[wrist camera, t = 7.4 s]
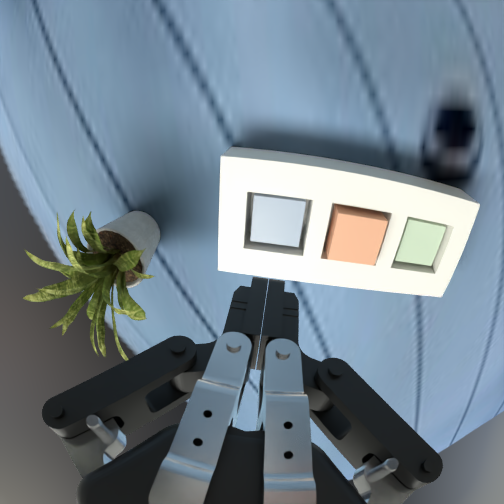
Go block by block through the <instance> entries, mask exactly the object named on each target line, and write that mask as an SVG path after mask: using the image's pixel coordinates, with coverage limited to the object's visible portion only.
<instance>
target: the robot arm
mask: <svg viewBox="0 0 504 504" xmlns="http://www.w3.org/2000/svg"><path fill="white" fill-rule="evenodd" d="M267 284H268V279H266V278H258V277H253V279H252V284H251V287H245V286H240V287H239V288H238V289H237V290H236V291H235V292H234V294H233V298H232V302H231V305H230V309H229V313H228V316H227V320H226V324H225V327H224V331H223V334H222V335H221V336H220V337H219V338H218V339H217V340H215V341H213V342H211V343H206V344H195V343H194V342H193V341H192V340H191V339H190V338H188V337H185V336H173V337H170V338H168V339H166V340H164V341H162V342H161V343H159V344H157V345H155V346H153V347H151V348H149V349H147V350H146V351H144V352H142V353H140V354H138V355H136V356H134V357H132V358H130V359H128V360H126V361H124V362H123V363H121V364H119V365H117V366H115V367H113V368H111V369H109V370H107V371H105V372H103V373H101V374H99V375H97V376H95V377H93V378H91V379H89V380H87V381H85V382H83V383H81V384H79V385H77V386H75V387H73V388H71V389H69V390H67V391H65V392H63V393H60V394H58V395H57V396H54V397H52V398H50V399H49V400H48V401H47V402H46V403H45V404H44V406H43V409H42V417H43V420H44V422H45V423H46V424H47V425H48V426H49V427H50V428H51V429H52V430H53V431H54V432H55V433H56V434H57V435H58V436H59V437H60V438H61V439H62V441H63V443H64V445H65V447H66V449H67V451H68V453H69V455H70V457H71V459H72V460H73V462H74V464H75V465H76V468H77V469H78V471H79V473H80V475H81V476H82V478H83V479H82V480H81V482H80V483H79V485H78V488H77V492H76V502H77V504H402V503H403V502H404V501H405V500H406V498H408V497H409V496H410V495H411V494H412V493H413V491H414V490H416V489H418V488H420V487H423V486H425V485H427V484H429V483H431V482H433V481H434V480H436V479H437V478H438V477H439V476H440V474H441V471H442V468H443V464H442V459H441V457H440V456H439V454H438V453H437V452H436V451H435V450H433V449H432V448H431V447H430V446H429V445H428V444H427V443H426V442H425V441H424V440H423V439H422V438H421V437H420V436H419V435H418V434H417V433H416V432H415V431H414V430H413V429H412V428H411V427H410V426H409V425H408V424H407V423H406V422H405V421H404V420H403V419H402V418H401V417H400V416H399V415H398V414H397V413H396V412H395V411H394V410H393V409H392V408H391V407H390V406H389V405H388V404H387V403H386V402H385V401H384V400H383V399H382V398H381V397H380V396H379V395H378V394H377V393H376V392H375V391H374V390H373V389H372V388H371V387H370V386H369V385H368V384H367V383H366V382H365V381H364V380H363V379H362V378H361V377H360V376H359V375H358V374H357V373H356V372H355V371H354V370H353V369H352V368H351V367H350V366H349V365H348V364H347V363H346V362H345V361H343V360H341V359H338V358H328V359H325V360H323V361H322V362H320V361H318V360H315V359H312V358H310V357H308V356H307V355H305V354H304V353H303V352H302V351H301V349H300V347H299V344H298V323H299V318H298V316H299V311H298V310H299V301H298V299H297V297H296V296H295V294H294V293H289V292H284V285H285V281H281V280H273V279H269V285H268V292H267V298H266V291H267ZM265 298H266V305H265ZM264 306H265V312H264ZM263 313H264V319H263ZM262 320H263V326H262ZM261 327H262V333H261ZM260 334H261V341H260ZM259 341H260V348H259V355H258V362H257V369H256V370H261V374H260V381H259V386H258V408H257V424H256V431H243V430H240V429H237V428H235V426H236V421H237V417H238V413H239V410H240V406H241V402H242V399H243V395H244V391H245V388H246V383H247V381H248V379H249V374H250V369H255V365H256V359H257V353H258V347H259ZM189 398H190V400H189V402H188V405H187V407H186V410H185V412H184V415H183V417H182V420H181V422H180V423H177V424H174V425H171V426H168V427H166V428H164V429H163V430H161V431H159V432H158V433H156V434H155V435H153V436H152V437H150V438H148V439H147V440H145V441H144V442H142V443H141V444H139V445H137V446H136V447H134V448H133V449H131V450H129V451H127V452H126V453H124V454H122V455H121V456H119V457H117V458H115V457H116V456H117V455H118V454H119V453H120V452H122V451H123V449H124V448H125V446H126V436H127V435H128V434H130V433H132V432H134V431H136V430H137V429H139V428H141V427H143V426H145V425H146V424H148V423H150V422H151V421H153V420H155V419H156V418H158V417H160V416H161V415H163V414H165V413H167V412H168V411H170V410H171V409H173V408H175V407H176V406H178V405H180V404H181V403H183V402H184V401H186V400H187V399H189ZM310 418H311V419H312V420H313V421H314V423H315V424H316V425H317V426H318V427H319V428H320V430H321V431H322V432H323V433H324V434H325V435H326V437H327V438H328V439H329V440H330V441H331V442H332V443H333V445H334V446H335V447H336V448H337V449H338V450H339V451H340V453H341V454H342V455H343V456H344V457H345V458H346V459H347V460H348V461H349V462H350V464H351V465H352V466H353V467H354V468H355V469H356V471H355V473H354V476H353V481H354V484H355V486H356V487H357V489H358V491H359V493H358V492H357V491H356V490H355V489H354V487H353V486H352V485H351V484H350V483H349V482H348V480H347V479H346V478H345V477H344V476H343V474H342V473H341V472H340V471H339V470H338V468H337V467H336V466H335V465H334V463H333V462H332V461H331V460H330V458H329V457H328V456H327V455H326V453H325V452H324V451H323V450H322V449H321V448H320V447H318V446H317V445H315V444H314V443H312V442H311V429H310ZM114 458H115V459H114Z"/></svg>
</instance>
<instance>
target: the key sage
mask: <svg viewBox="0 0 504 504" xmlns="http://www.w3.org/2000/svg"><path fill="white" fill-rule="evenodd" d="M445 229H446V227H445V226H444V224H441V223H437V222H432V221H428V220H423V219H418V218H413V217H407V221H406V224H405V227H404V230H403V233H402V237H401V240H400V243H399V246H398V248H397V251H396V254H395V257H394V260H395V261H401V262H408V263H415V264H421V265H428V266H431V265H432V263H433V261H434V258H435V256H436V253H437V251H438V248H439V245H440V243H441V240H442V238H443V235H444V232H445Z"/></svg>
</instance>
